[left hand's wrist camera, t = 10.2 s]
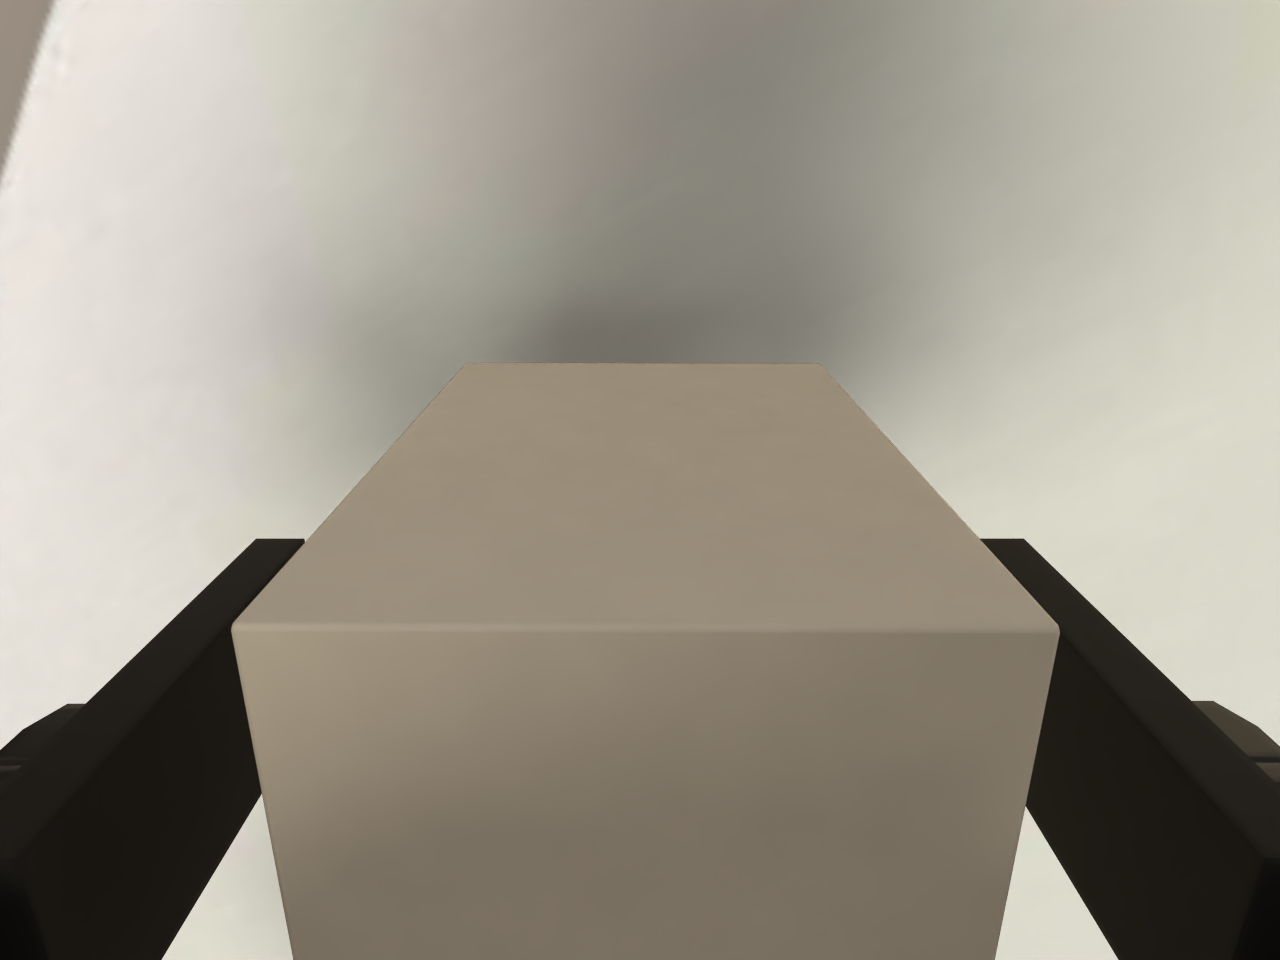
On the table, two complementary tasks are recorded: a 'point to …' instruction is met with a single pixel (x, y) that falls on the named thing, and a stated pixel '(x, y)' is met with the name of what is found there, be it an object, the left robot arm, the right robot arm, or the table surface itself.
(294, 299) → the table surface
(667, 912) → the bar
